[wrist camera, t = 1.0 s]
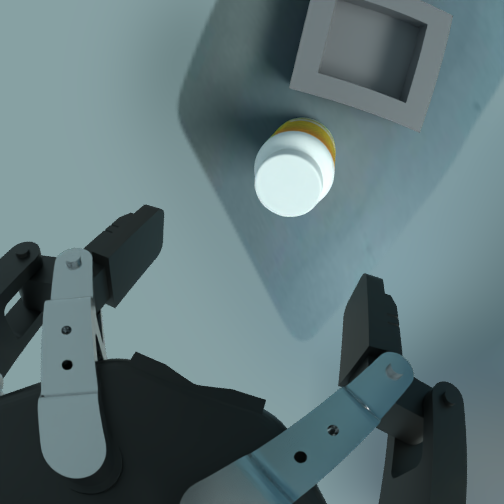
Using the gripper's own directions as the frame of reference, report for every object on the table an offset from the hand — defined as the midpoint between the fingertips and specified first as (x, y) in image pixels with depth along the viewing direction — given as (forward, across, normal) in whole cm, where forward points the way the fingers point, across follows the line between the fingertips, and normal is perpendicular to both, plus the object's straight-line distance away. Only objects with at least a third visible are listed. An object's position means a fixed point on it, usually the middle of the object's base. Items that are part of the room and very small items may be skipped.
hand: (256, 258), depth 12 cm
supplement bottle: (+17, 0, 0) cm, 17 cm away
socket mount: (+17, -3, -10) cm, 20 cm away
